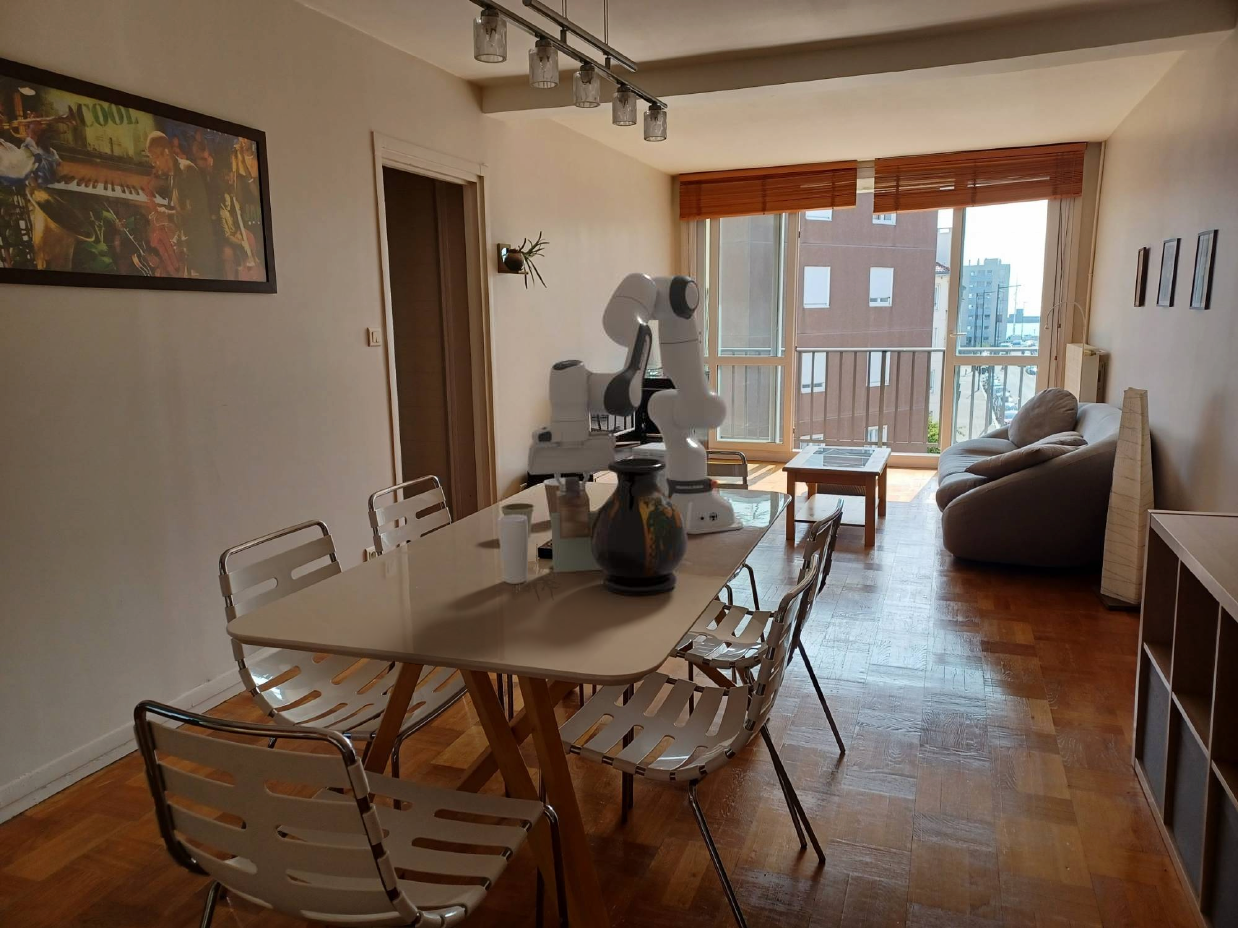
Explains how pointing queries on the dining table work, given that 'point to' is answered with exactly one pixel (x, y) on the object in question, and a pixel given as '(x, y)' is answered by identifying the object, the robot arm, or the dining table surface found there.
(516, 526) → the drinking glass
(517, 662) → the dining table surface
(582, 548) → the board
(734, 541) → the dining table surface
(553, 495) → the coffee cup
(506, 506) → the flower pot
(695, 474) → the robot arm
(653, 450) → the supplement box
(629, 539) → the amphora vase
